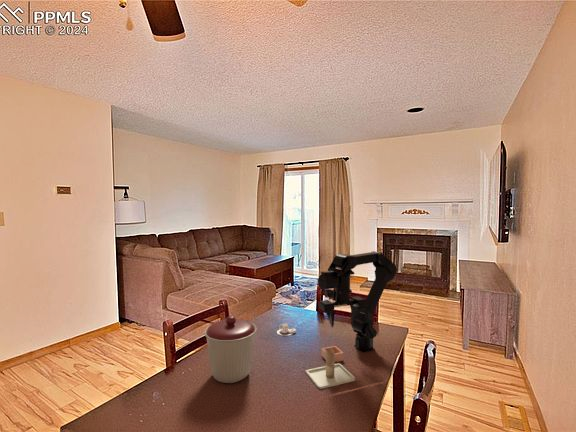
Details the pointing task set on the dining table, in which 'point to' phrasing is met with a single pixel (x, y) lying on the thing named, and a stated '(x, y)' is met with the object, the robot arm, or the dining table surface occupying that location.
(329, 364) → the dowel
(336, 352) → the orange open box
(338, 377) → the tray
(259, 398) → the dining table surface
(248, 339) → the canister
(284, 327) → the teacup and saucer
